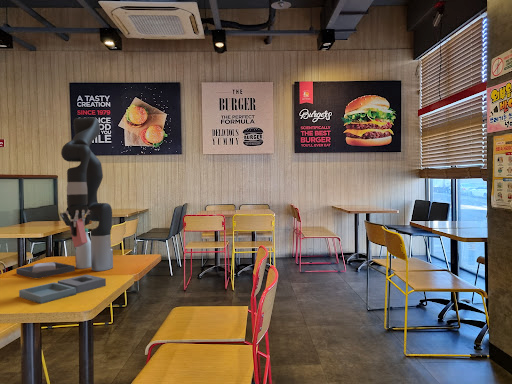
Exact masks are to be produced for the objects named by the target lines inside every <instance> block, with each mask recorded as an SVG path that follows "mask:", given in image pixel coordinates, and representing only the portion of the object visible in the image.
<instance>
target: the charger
mask: <svg viewBox="0 0 512 384" xmlns="http://www.w3.org/2000/svg"><path fill="white" fill-rule="evenodd" d="M54 262H55V261H51V262H42V263H40V262H39V263H35V264H33V265H32V266H33V271H32V272H36V273H38V272H44V271H49V270H54V269H56V268H55V263H54Z"/></svg>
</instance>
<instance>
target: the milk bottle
mask: <svg viewBox="0 0 512 384" xmlns="http://www.w3.org/2000/svg"><path fill="white" fill-rule="evenodd" d="M84 229H85V233H86V237H87V241H88V242H87V243H85V244H83V245H82V246H80V247H74V248H75V249H74V250H75V251H74V252H75V256H74V257H75V268H76V269H79V270H80V269H84V270H85V269H91V238H90V237H89V229H88V228H85V227H84Z"/></svg>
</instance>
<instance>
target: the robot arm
mask: <svg viewBox="0 0 512 384" xmlns="http://www.w3.org/2000/svg"><path fill="white" fill-rule="evenodd" d="M73 130H74V134H75V135H74V137H73V138H72V140H70V141H68V142H67V143H65V144H64V145H63V146H62V148H61V153H60V154H61V157H62V159H63V160H64V161H66V162H69V163H70V162H72V163H75V162H77V163H78V162H79V164H78V166H73V167H69V168H67V171H66V182H67V183H66V205H67V207H66V209H65V211H63V212H60V213H59V214H60V215H59V216H60V217H61V219H62V221H63V222H64V223H65V226H67V227H69V228H70V227H71V231H70V235H71V234H72V235H71V237H72V236H74V237H75V236H77V227H76V226H77V221H78V219H82V221H83V224H84V227H85V226H87V225H89V224H90V223H91V222H98V224H97V225H98V226H96V227H95V228H92V229H91V230H90V241H91V267H90V269H91V271H95V272H103V271H107V270H111V269H113V268H114V254H113V253H114V252H113V251H114V250H113V248H112V239H111V237H112V236H111V233H112V228H113V209H112V206H111V204H110V203H107V202H98V191H99V188H100V185H101V183H102V181H103V177H104V174H103V173H104V172H103V165H102V163H101V161H100V160H99V158H98V157H97V155H95V154H94V152H92V150H91V148H90V146H91V144H92V142H93V141H94V140H95V139H96V138H97V137H98V136H99V135H100V134H101V125H100V121H99V119H97V117H89V116H88V117H75V118H74V119H73ZM69 217H70V218H69Z"/></svg>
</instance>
